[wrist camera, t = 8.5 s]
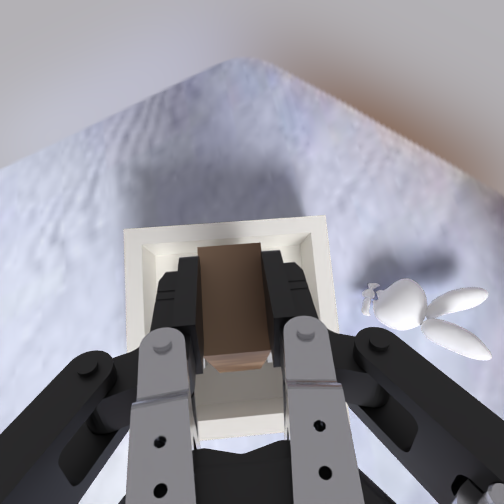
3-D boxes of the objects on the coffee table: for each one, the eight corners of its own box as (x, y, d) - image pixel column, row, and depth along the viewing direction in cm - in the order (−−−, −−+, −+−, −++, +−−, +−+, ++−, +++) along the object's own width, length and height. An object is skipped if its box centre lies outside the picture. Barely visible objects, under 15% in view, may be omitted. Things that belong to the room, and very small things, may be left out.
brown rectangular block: (219, 372, 22) (202, 356, 13) (215, 305, 24) (197, 247, 14) (260, 368, 23) (272, 349, 13) (254, 302, 24) (260, 242, 15)
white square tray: (149, 422, 25) (129, 447, 21) (143, 245, 27) (123, 229, 22) (328, 405, 26) (350, 425, 21) (309, 233, 28) (325, 215, 23)
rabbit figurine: (373, 252, 28) (500, 274, 25) (371, 290, 31) (487, 316, 27) (350, 308, 24) (497, 344, 21) (349, 348, 27) (481, 386, 23)
